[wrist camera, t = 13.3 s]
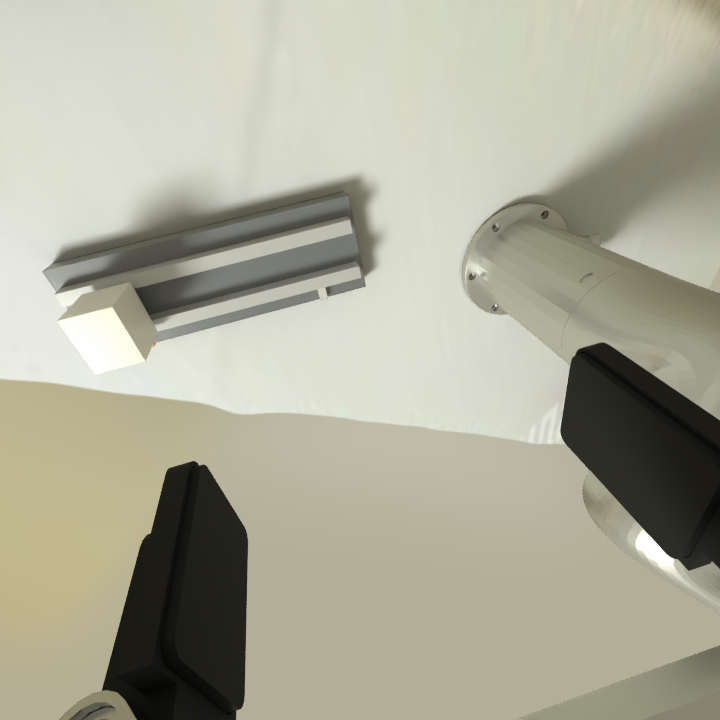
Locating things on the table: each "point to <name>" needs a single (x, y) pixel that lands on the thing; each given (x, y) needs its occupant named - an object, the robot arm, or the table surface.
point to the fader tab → (110, 328)
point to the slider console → (227, 267)
